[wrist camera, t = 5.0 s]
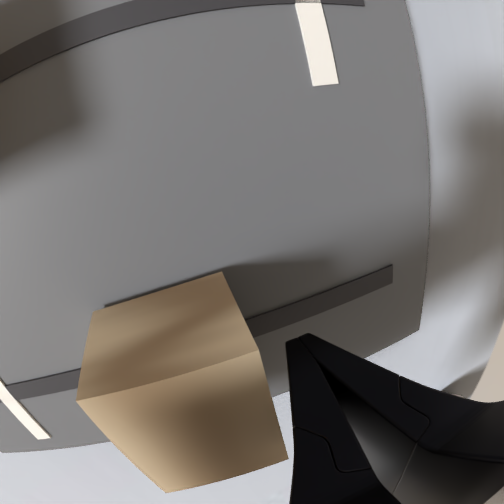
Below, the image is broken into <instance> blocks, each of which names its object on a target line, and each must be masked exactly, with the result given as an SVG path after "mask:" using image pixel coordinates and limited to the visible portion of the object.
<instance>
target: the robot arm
mask: <svg viewBox="0 0 504 504" xmlns="http://www.w3.org/2000/svg"><path fill="white" fill-rule="evenodd" d="M285 349H286V359H287V369H288V380H289V391H290V402H291V413H292V425H293V439H294V463H293V476H292V485H291V494H290V502H289V504H504V401H499V402H491V403H485V402H478V401H474V400H470V399H466V398H463V397H459V396H456V395H452V394H449V393H445V392H442V391H439V390H436V389H433V388H430V387H427V386H424V385H422V384H419V383H417V382H414V381H412V380H409V379H407V378H405V377H403V376H400V377H399V375H398V374H396V373H394V372H391V371H389V370H387V369H385V368H383V367H380V366H378V365H376V364H374V363H372V362H370V361H367V360H365V359H363V358H361V357H359V356H357V355H355V354H353V353H350V352H348V351H346V350H344V349H342V348H340V347H338V346H336V345H334V344H332V343H330V342H328V341H325V340H323V339H321V338H319V337H317V336H315V335H313V334H311V333H306V334H304V335H301V336H299V337H298V338H294V339H291V340H288V341H286V342H285Z"/></svg>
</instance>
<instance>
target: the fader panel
mask: <svg viewBox="0 0 504 504" xmlns="http://www.w3.org/2000/svg"><path fill="white" fill-rule="evenodd" d="M429 207H430V186H429V154H428V138H427V125H426V115H425V105H424V97H423V89H422V82H421V75H420V69H419V63H418V57H417V52H416V47H415V42H414V37H413V32H412V28H411V23H410V19H409V15H408V11H407V7H406V3H405V0H0V451H1V452H2V453H12V452H30V451H42V450H53V449H62V448H70V447H78V446H85V445H92V444H98V443H104V442H110V440H109V439H108V438H107V437H106V435H105V434H104V433H103V432H102V431H101V430H100V429H99V428H98V427H97V426H96V424H95V423H94V422H93V421H92V420H91V419H90V418H89V416H88V415H87V414H86V413H85V412H84V410H83V409H82V408H81V407H80V406H79V404H78V403H77V402H76V396H77V389H78V383H79V377H80V371H81V366H82V360H83V355H84V350H85V345H86V340H87V335H88V331H89V326H90V322H91V317H92V313H93V312H94V311H97V310H100V309H103V308H107V307H110V306H113V305H116V304H119V303H123V302H126V301H129V300H132V299H136V298H139V297H142V296H145V295H148V294H152V293H155V292H158V291H161V290H164V289H168V288H171V287H174V286H177V285H180V284H184V283H187V282H190V281H193V280H196V279H199V278H203V277H206V276H209V275H212V274H215V273H218V272H221V271H222V273H223V275H224V277H225V279H226V281H227V284H228V286H229V288H230V290H231V292H232V294H233V297H234V299H235V301H236V303H237V305H238V307H239V309H240V311H241V314H242V316H243V318H244V320H245V322H246V324H247V326H248V328H249V330H250V332H251V335H252V337H253V339H254V341H255V343H256V345H257V347H258V349H259V352H260V356H261V360H262V364H263V367H264V371H265V375H266V379H267V382H268V386H269V390H270V393H271V397H274V396H277V395H280V394H282V393H285V392H288V391H289V380H288V369H287V359H286V349H285V342H286V341H288V340H291V339H294V338H298V337H299V336H301V335H304V334H306V333H311V334H313V335H315V336H317V337H319V338H321V339H323V340H325V341H328V342H330V343H332V344H334V345H336V346H338V347H340V348H342V349H344V350H346V351H348V352H350V353H353V354H355V355H357V356H359V357H361V358H363V359H364V358H366V357H368V356H370V355H372V354H374V353H376V352H378V351H380V350H382V349H384V348H386V347H388V346H390V345H392V344H394V343H396V342H398V341H399V340H401V339H403V338H405V337H407V336H409V335H411V334H412V333H414V332H416V331H418V330H419V327H420V320H421V313H422V306H423V298H424V289H425V279H426V268H427V256H428V239H429Z"/></svg>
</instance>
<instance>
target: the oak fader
mask: <svg viewBox="0 0 504 504" xmlns="http://www.w3.org/2000/svg"><path fill="white" fill-rule="evenodd" d="M76 402H77V403H78V404H79V406H80V407H81V408H82V409H83V410H84V412H85V413H86V414H87V415H88V416H89V418H90V419H91V420H92V421H93V422H94V423H95V424H96V426H97V427H98V428H99V429H100V430H101V431H102V432H103V433H104V434H105V435H106V437H107V438H108V439H109V440H110V441H111V442H112V443H113V444H114V445H115V446H116V447H117V448H118V449H119V450H120V451H121V452H122V453H123V454H124V455H125V456H126V457H127V458H128V459H129V460H130V461H131V462H132V463H133V464H134V465H135V466H136V467H137V468H138V469H139V470H140V471H142V472H143V473H144V474H145V475H146V476H147V477H148V478H149V479H150V480H151V481H153V482H154V483H155V484H156V485H157V486H158V487H160V488H161V489H162V490H163V491H164V492H165V493H169V492H175V491H180V490H184V489H189V488H194V487H198V486H202V485H206V484H210V483H214V482H218V481H222V480H225V479H229V478H232V477H236V476H239V475H243V474H246V473H249V472H252V471H255V470H258V469H261V468H264V467H267V466H270V465H273V464H276V463H279V462H282V461H284V460H287V459H289V458H288V455H287V451H286V448H285V444H284V441H283V437H282V433H281V430H280V426H279V423H278V419H277V415H276V412H275V408H274V404H273V401H272V397H271V393H270V390H269V386H268V382H267V379H266V375H265V371H264V367H263V364H262V360H261V356H260V352H259V349H258V347H257V345H256V343H255V341H254V339H253V337H252V335H251V332H250V330H249V328H248V326H247V324H246V322H245V320H244V318H243V316H242V314H241V311H240V309H239V307H238V305H237V303H236V301H235V299H234V297H233V294H232V292H231V290H230V288H229V286H228V284H227V281H226V279H225V277H224V275H223V273H222V271H221V272H218V273H215V274H212V275H209V276H206V277H203V278H199V279H196V280H193V281H190V282H187V283H184V284H180V285H177V286H174V287H171V288H168V289H164V290H161V291H158V292H155V293H152V294H148V295H145V296H142V297H139V298H136V299H132V300H129V301H126V302H123V303H119V304H116V305H113V306H110V307H107V308H103V309H100V310H97V311H94V312H93V313H92V317H91V322H90V326H89V331H88V335H87V340H86V345H85V350H84V355H83V360H82V366H81V371H80V377H79V383H78V389H77V396H76Z"/></svg>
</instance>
